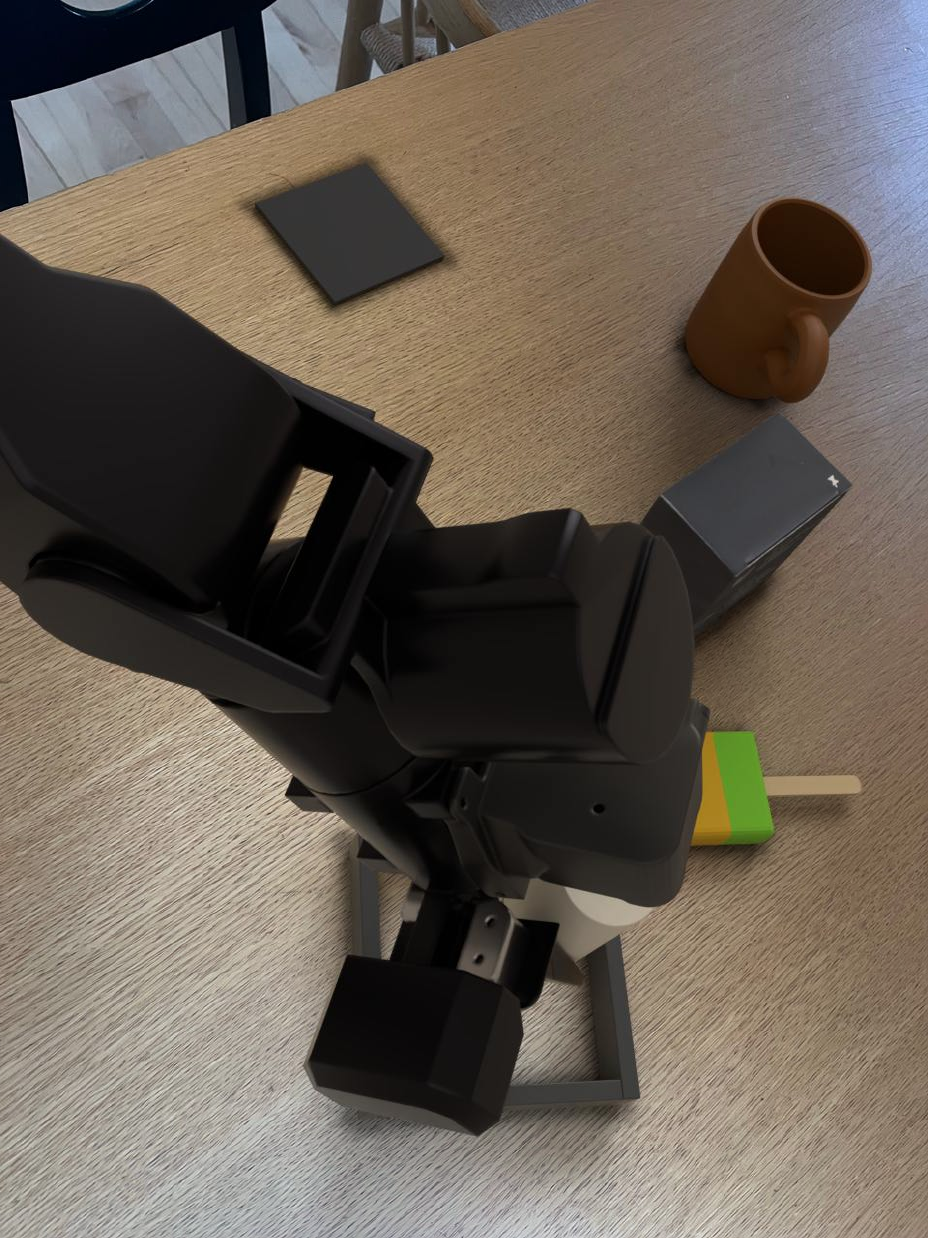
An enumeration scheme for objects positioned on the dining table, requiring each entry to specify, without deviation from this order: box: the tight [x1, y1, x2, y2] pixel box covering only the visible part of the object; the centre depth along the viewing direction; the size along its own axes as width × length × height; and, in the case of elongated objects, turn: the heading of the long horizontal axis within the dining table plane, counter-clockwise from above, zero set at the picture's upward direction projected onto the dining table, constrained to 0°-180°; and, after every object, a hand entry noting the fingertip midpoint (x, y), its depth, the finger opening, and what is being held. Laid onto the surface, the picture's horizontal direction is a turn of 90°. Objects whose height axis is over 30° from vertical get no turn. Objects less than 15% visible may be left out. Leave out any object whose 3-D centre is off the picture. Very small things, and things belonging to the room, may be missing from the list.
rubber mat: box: [254, 162, 446, 306], centre depth 73 cm, size 8×8×1 cm
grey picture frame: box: [348, 832, 641, 1120], centre depth 55 cm, size 12×12×2 cm
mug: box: [684, 196, 873, 404], centre depth 72 cm, size 12×8×9 cm, turn 177°
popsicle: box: [691, 730, 862, 847], centre depth 62 cm, size 6×15×2 cm, turn 96°
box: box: [639, 412, 853, 639], centre depth 64 cm, size 9×6×10 cm, turn 131°
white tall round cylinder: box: [504, 878, 655, 963], centre depth 47 cm, size 7×4×13 cm, turn 162°
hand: (585, 932), depth 47 cm, fingers closed on white tall round cylinder, 3 cm apart
